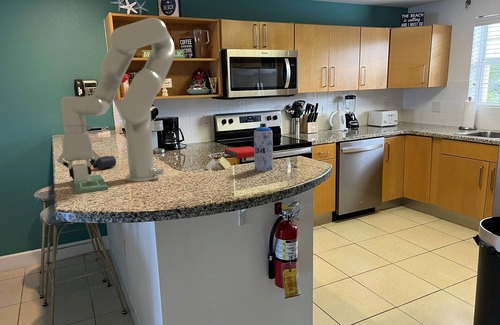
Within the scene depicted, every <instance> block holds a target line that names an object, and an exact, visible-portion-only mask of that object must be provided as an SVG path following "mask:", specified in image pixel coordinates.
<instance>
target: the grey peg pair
mask: <svg viewBox="0 0 500 325" xmlns="http://www.w3.org/2000/svg"><path fill="white" fill-rule="evenodd" d="M86 178H87V183H88V185H91V184H92V180H91V176H90V174H87V175H86Z"/></svg>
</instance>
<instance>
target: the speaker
mask: <svg viewBox="0 0 500 325" xmlns="http://www.w3.org/2000/svg"><path fill="white" fill-rule="evenodd" d="M93 158H94V157H93ZM93 158H91V159H89V160H90V161H91V160H92V159H93ZM116 166H117V159H116V157H115V156H114V155H107V156H101V157H100V156H99V159H97V160H96V161H95V162H94V163H93V164H92V168H93V169H94V170H95V169H98V170H104V169H109V168H114V167H116Z"/></svg>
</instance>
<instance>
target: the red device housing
mask: <svg viewBox="0 0 500 325" xmlns="http://www.w3.org/2000/svg"><path fill="white" fill-rule="evenodd" d="M224 155H228V156H230V157H233V158H236V160H239V159H245V158H246V159H247V158H255V156H254V146H253V147H252V146H240V147H227V148H224Z"/></svg>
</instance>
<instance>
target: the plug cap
mask: <svg viewBox="0 0 500 325" xmlns="http://www.w3.org/2000/svg"><path fill="white" fill-rule="evenodd" d="M72 167H73V173H74V181H75V182H76V181H85V180H87V178H86V175H87V174H88V168H87V162H79V163H72Z"/></svg>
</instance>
